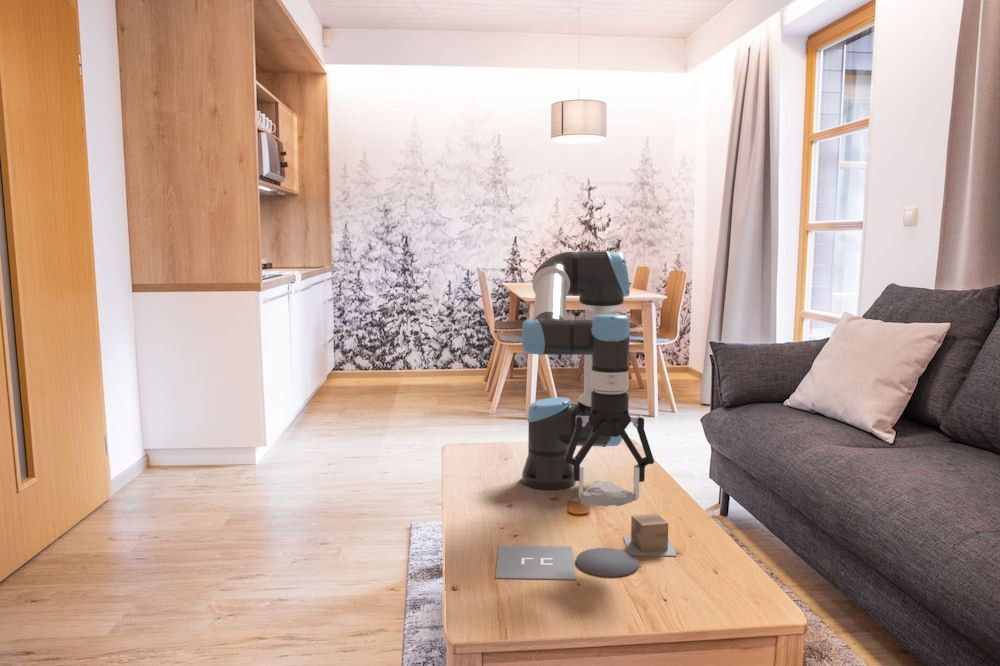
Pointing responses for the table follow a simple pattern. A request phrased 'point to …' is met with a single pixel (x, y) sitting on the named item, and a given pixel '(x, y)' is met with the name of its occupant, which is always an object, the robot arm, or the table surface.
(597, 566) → the coaster
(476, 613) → the table surface
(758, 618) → the table surface
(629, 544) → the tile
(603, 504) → the stone
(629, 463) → the table surface
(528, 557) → the tile
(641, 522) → the walnut block
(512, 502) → the table surface
